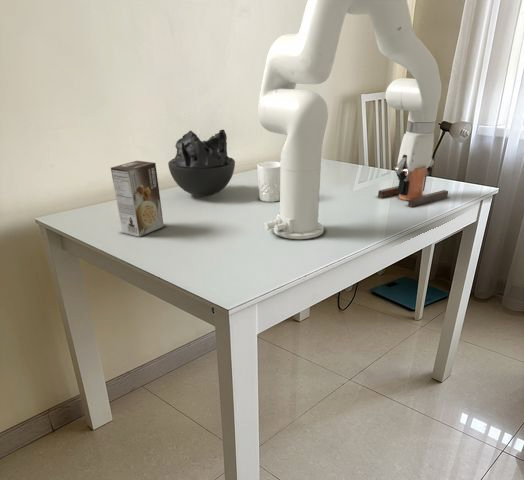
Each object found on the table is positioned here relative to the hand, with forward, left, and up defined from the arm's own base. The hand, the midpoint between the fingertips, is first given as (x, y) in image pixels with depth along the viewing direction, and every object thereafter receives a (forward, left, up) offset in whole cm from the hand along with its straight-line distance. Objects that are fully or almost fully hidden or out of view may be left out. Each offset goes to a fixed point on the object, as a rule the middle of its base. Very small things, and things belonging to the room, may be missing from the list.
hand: (410, 191), depth 148 cm
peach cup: (0, 0, -2) cm, 2 cm away
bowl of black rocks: (-48, +41, -2) cm, 63 cm away
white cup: (-34, +25, -2) cm, 42 cm away
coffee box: (-77, +22, -2) cm, 80 cm away
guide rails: (+1, 0, -2) cm, 2 cm away
